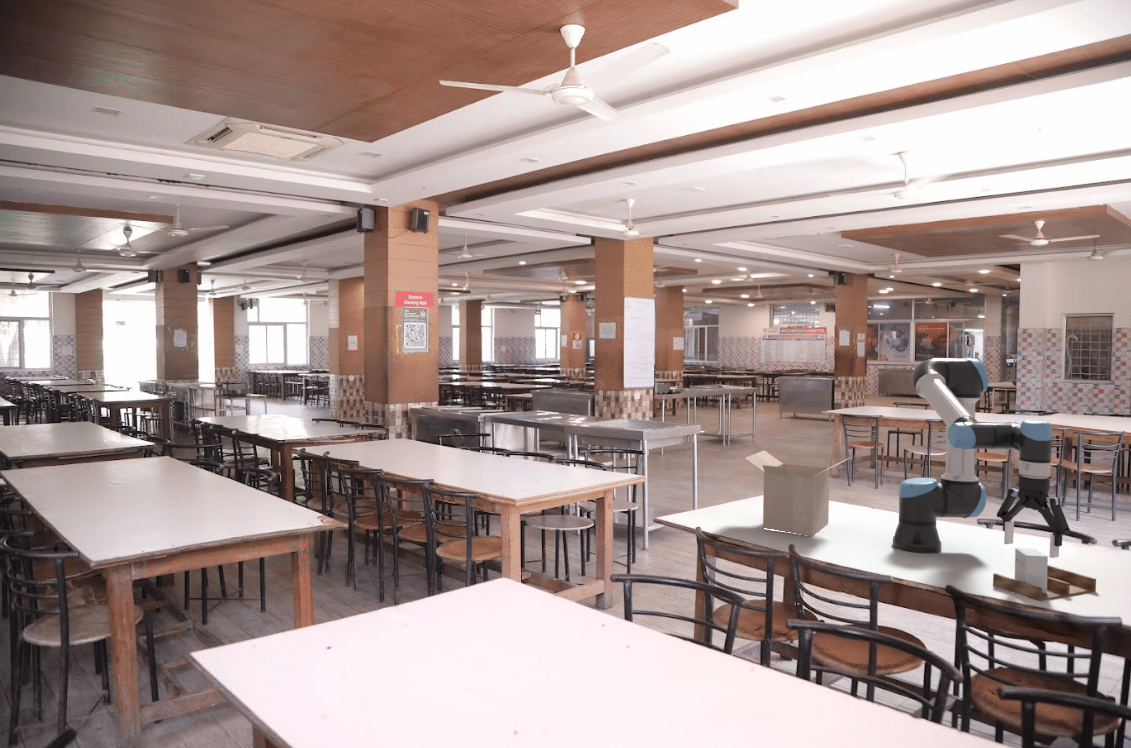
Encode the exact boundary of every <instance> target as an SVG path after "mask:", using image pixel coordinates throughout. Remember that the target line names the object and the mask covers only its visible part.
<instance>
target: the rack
mask: <svg viewBox="0 0 1131 748" xmlns="http://www.w3.org/2000/svg"><path fill="white" fill-rule="evenodd" d="M992 575H993V576H992V577H993V578H992V581H993V583H992V586H993V587H995V588H998V589H1001V590H1004V591H1007V592H1010V593H1012V592H1013V594H1016V595H1018V594H1019V596H1021V595H1022V597H1024V596H1025V598H1027V597H1028V598H1027V599H1030V598H1031V600H1033V599H1034V601H1036V600H1037V601H1036V602H1039V601H1040V602H1045V601H1050V600H1056V599H1060V598H1061V599H1062V598H1066V597H1072V596H1077V595H1083V594H1088V593H1093V592H1094V593H1095V592H1096V591H1097V578H1096V577H1092V576H1088V575H1084V574H1081V573H1079V572H1078V573H1077V572H1074V571H1072V570H1067V569H1064V568H1059V567H1056V566H1053V565H1050V564H1048V567H1047V593H1042V588H1041V587H1037V586H1034V585H1031V584H1028V583H1025V582H1022V581H1019V580H1015V578H1012V577H1009V576H1006V575H1002V574H999V573H996V572H995V573H993V574H992Z"/></svg>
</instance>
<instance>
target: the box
mask: <svg viewBox="0 0 1131 748" xmlns="http://www.w3.org/2000/svg"><path fill="white" fill-rule="evenodd" d="M850 458H851V457H848V458H845V459H844V460H842V461H840V462H837V463H836V464H834V465H832V466H830V463H831V460H832V459H831V458H826V457H816V456H805V455H804V456H803V455H793V454H786V456H785V459H784V462H782V461H780V460H779V459H777V458H776V457H774V456H773V455H772V454H770V453H769V452H768V451H766V450H762V451H759V452H757V453H754V454H752V455H749V456H746V457H744V458H743V459H744V460H745V461H747V462H749V463H750V464H751V465H753V466H754V467H756V468H757V469H758V470H760V471H761V472H762V473H763V497H762V498H763V502H762V503H763V506H762V507H763V509H762V510H763V511H762V515H763V516H762V529H763V528H767V529H774V530H779V531H785V532H791V533H796V534H801V535H807V536H806V537H809V536H812V537H811V538H813V537H814V536H815V534H816V533H817V534H818V533H820V532H821V529H822V530H823V529H824V528H825V527H827V525H829V512H830V511H829V509H830V508H829V505H830V503H829V502H830V470H831V469H833V468H835V467H837V466H839V465H841V464H842V463H845V461H847V460H849V459H850ZM817 534H816V535H817ZM801 535H800V536H801Z"/></svg>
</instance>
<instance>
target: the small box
mask: <svg viewBox="0 0 1131 748" xmlns="http://www.w3.org/2000/svg"><path fill="white" fill-rule="evenodd" d="M1048 558H1049V556H1047V555H1046V554H1045V553H1042V552H1041V551H1039V550H1038V549H1036V548H1022V547H1021V548H1019V547H1017V548H1016V547H1015V550H1014V579H1015V580H1019V581H1022V582H1025V583H1028V584H1031V585H1034V586H1037V587H1041V588H1042V593H1047V567H1048V565H1049V564H1048Z"/></svg>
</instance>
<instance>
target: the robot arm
mask: <svg viewBox="0 0 1131 748" xmlns="http://www.w3.org/2000/svg"><path fill="white" fill-rule="evenodd" d="M989 380H990V379H989V373H988V370H987V367H986V366H985V365H984V363H983V362H982V361H981V360H980V359H978V358H967V357H962V358H961V357H960V358H959V357H956V358H955V357H954V358H953V357H952V358H951V357H950V358H949V357H948V358H946V357H945V358H943V357H941V358H939V357H933V358H928V359H926V360H924V361H921V362H920V363H919V364H918V365H917V366H916V367H915V368H914V371H913V372H912V375H911V384H912V385H911V386H912V387H913V389H914V391H915V392H916V394H917V395H918V396H919V397H920V398H923V399H925V400H926V401H927V403H928V404H929V405H930V406H931V408H932V409H933V410H934V411H935V412H936V414H937V415H938V417H939V418H940V419H941V420H942V421H943V423H944V424H945V425H946V426H945V427H946V429H945V430H946V433H945V435H946V436H945V437H946V438H945V472H944V473H943V474H941V476H940V481H938V480H937V479H936V478H932V477H913V478H907V479H904V480H903V481H902V482H900V485H899V491H898V496H899V497H898V500H899V501H898V525H897V526H896V529H895V533H894V536H893V537H892V546H893V547H894V548H896V549H899V550H902V551H906V552H907V551H908V552H913V553H923V554H924V553H925V554H931V553H933V554H934V553H938V552H941V551H942V541H941V540H940V535H939V532H938V528H937V518H962V519H967V518H978V517H979V516H980V515H981V514H982V513H983V512H984V510H985V508H986V504H987V492H986V488H985V486H984V485H983V484H982V483H980V478H979V477H978V476H976V474H975V450H977V449H978V450H980V449H981V450H982V449H983V450H987V449H988V450H1015V451H1019V455H1018V456H1019V462H1018V473H1019V475H1018V479H1017V480H1018V481H1017V482H1018V483H1017V486H1018V488H1017V487H1012V488H1011V487H1010V488H1008V489H1007V493H1006V497H1005V499H1004V500H1003V502H1002V504H1001V505H1000V508H999V510H998V511H997V512H996V517H997V518H1000V519H1001V520H1002V531H1003V532H1004V536H1003V537H1004V539H1003V544H1004V545H1011V544H1014V532H1015V531H1014V527H1015V521H1014V520H1013V519H1014V518H1015V517H1016V516H1017V515H1018V514H1019V513H1020V512H1021V511H1022V510H1023V509H1024V508H1026V509H1031V510H1034V511H1038V513H1040V515H1041V516H1042V517H1043V520H1045V522H1046V524H1047V525H1048V527H1049V528H1050V530H1051V531H1052V533H1050V535H1049V536H1050V538H1049V539H1050V540H1049V556H1048V558H1050V559H1055V558H1060V547H1062V546H1063V535H1066V534H1067V535H1068V534H1071V528H1070V526H1069V524H1068V521H1067V520H1066V519H1067V518H1066V517H1065V514H1064V512H1063V508H1062V507H1061V499H1060V498H1059V497H1058V496H1057V497H1051V496H1050V497H1049V491H1050V484H1051V483H1050V482H1051V480H1050V478H1049V477H1050V476H1051V466H1052V465H1051V459H1052V450H1053V449H1052V447H1053V446H1052V445H1053V436H1054V435H1053V426H1052V423H1050V422H1049V421H1045V420H1044V421H1043V420H1034V419H1028V420H1026V419H1025V420H1023V421H1021V423H1018V422H1014V421H1003V422H1001V423H998V422H996V423H990V422H989V423H986V422H985V423H983V422H978V421H977V419H976V403H977V402H978V401H979V400H981V394H983V393H985V392H986V391H987V390H988V387H989V383H990V381H989ZM1017 497H1018V498H1019V500H1018V501H1016V499H1017ZM1015 501H1016V502H1015ZM1014 502H1015V504H1014ZM1012 506H1013V507H1012Z"/></svg>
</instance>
